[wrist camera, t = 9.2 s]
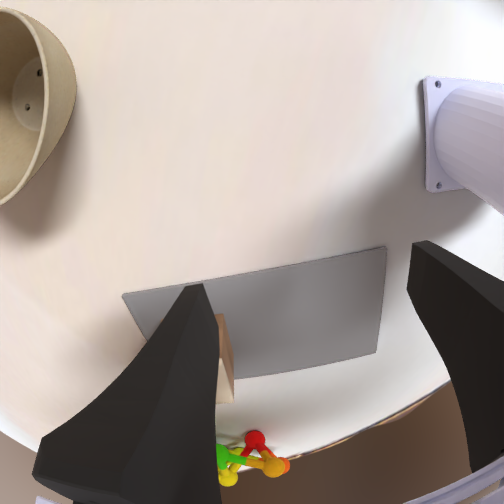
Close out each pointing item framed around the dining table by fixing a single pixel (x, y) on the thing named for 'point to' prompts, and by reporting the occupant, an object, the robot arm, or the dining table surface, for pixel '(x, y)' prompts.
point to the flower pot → (30, 98)
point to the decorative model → (248, 459)
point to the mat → (287, 312)
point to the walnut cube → (224, 364)
